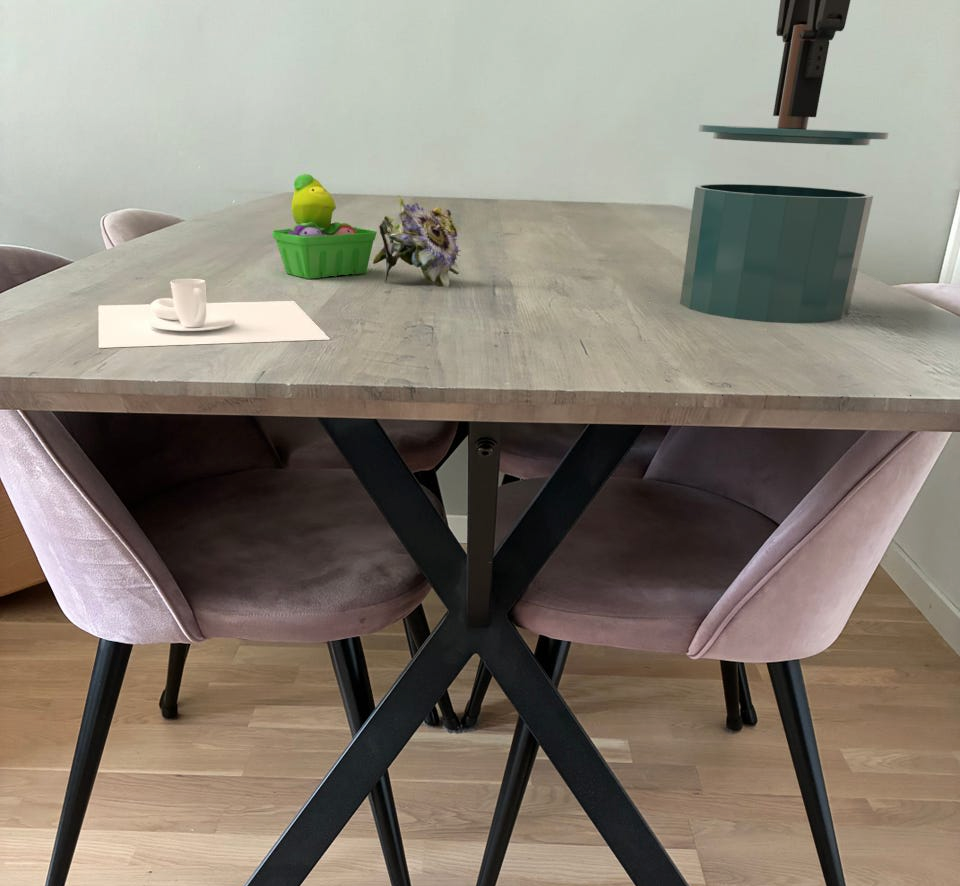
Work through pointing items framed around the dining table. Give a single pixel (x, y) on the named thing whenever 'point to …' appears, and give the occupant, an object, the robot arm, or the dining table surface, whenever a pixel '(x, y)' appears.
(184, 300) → the teacup and saucer
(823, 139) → the lid
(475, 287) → the dining table surface
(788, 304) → the pot
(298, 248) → the fruit basket
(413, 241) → the passion flower
